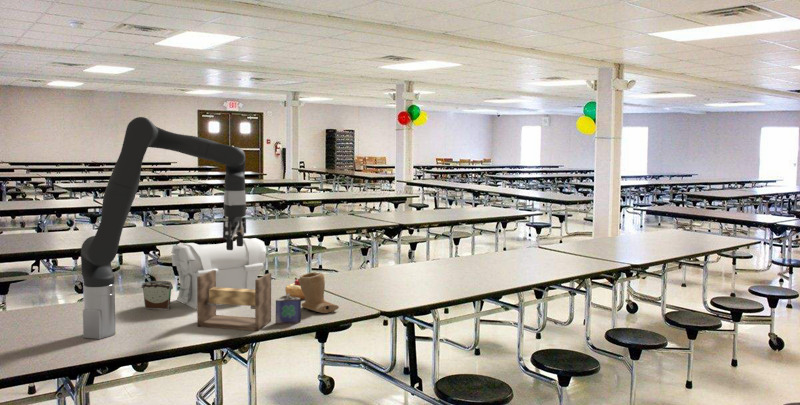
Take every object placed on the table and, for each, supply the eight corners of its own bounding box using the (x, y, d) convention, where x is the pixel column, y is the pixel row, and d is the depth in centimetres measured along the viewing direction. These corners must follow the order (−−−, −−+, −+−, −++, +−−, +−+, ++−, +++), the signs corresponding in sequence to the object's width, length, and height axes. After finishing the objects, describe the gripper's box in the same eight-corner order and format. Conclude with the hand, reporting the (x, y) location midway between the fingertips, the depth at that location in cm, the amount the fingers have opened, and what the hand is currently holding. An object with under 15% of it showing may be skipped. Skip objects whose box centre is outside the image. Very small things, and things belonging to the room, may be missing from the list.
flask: (275, 324, 220) (276, 295, 220) (274, 322, 223) (275, 293, 222) (301, 322, 223) (301, 294, 222) (300, 320, 226) (300, 292, 225)
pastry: (304, 293, 270) (304, 273, 270) (318, 298, 261) (318, 277, 261) (280, 296, 263) (280, 275, 262) (293, 301, 254) (294, 280, 253)
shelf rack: (258, 330, 212) (258, 280, 211) (197, 326, 216) (197, 276, 214) (271, 321, 224) (271, 273, 223) (213, 317, 228) (212, 270, 226)
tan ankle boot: (293, 308, 243) (293, 271, 242) (318, 304, 251) (319, 268, 249) (313, 316, 232) (314, 278, 230) (339, 312, 239) (340, 274, 238)
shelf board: (209, 303, 219) (208, 289, 218) (214, 300, 223) (214, 287, 222) (256, 306, 216) (256, 292, 216) (260, 303, 220) (260, 289, 220)
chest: (245, 289, 274) (245, 234, 272) (271, 298, 258) (271, 240, 255) (168, 300, 251) (167, 241, 249) (191, 312, 234) (190, 248, 232)
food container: (178, 305, 243) (178, 281, 242) (171, 309, 237) (171, 284, 236) (149, 304, 244) (149, 279, 244) (141, 308, 238) (141, 283, 237)
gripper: (233, 201, 224) (233, 244, 225) (215, 204, 210) (216, 250, 211) (252, 201, 223) (252, 245, 224) (236, 205, 209) (236, 251, 210)
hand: (234, 248), depth 218 cm, fingers open, 8 cm apart
